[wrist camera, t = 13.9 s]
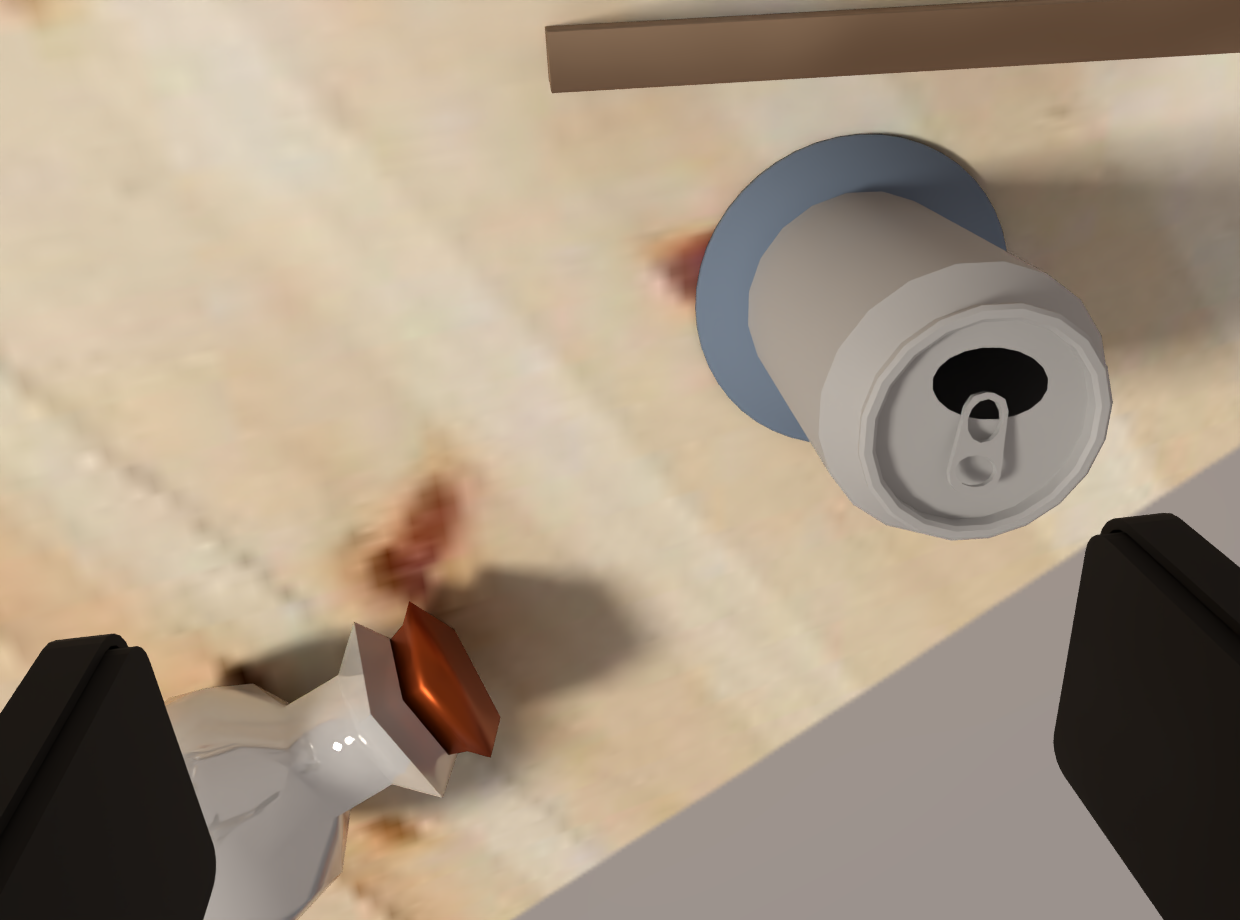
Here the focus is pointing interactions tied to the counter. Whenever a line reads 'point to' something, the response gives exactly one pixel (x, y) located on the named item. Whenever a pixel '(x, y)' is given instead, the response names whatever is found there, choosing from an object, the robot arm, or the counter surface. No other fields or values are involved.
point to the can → (929, 366)
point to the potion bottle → (324, 759)
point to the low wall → (883, 41)
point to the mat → (779, 203)
